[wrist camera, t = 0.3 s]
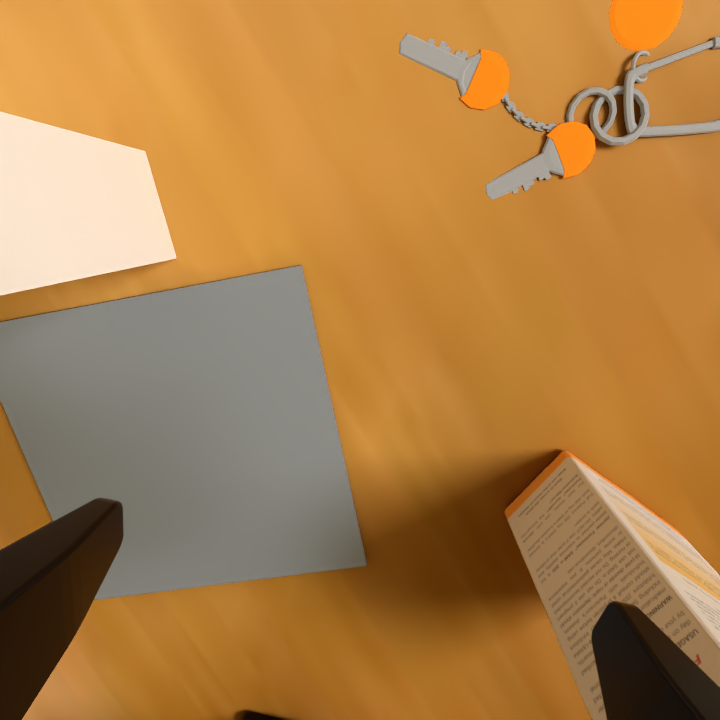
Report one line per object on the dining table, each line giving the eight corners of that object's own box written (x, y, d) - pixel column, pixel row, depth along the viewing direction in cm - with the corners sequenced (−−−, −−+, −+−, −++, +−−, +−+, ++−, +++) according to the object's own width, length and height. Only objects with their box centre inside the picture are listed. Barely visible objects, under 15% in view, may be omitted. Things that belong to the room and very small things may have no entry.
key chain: (739, -62, 17) (757, -76, 16) (735, 152, 19) (750, 149, 18) (393, 26, 18) (394, 17, 18) (424, 218, 20) (425, 218, 20)
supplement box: (497, 511, 24) (623, 829, 12) (563, 444, 23) (783, 720, 10) (615, 592, 25) (843, 961, 13) (683, 532, 24) (1012, 877, 12)
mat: (366, 560, 25) (366, 566, 25) (91, 595, 27) (87, 600, 26) (301, 264, 21) (300, 265, 20) (-25, 326, 22) (-32, 328, 22)
